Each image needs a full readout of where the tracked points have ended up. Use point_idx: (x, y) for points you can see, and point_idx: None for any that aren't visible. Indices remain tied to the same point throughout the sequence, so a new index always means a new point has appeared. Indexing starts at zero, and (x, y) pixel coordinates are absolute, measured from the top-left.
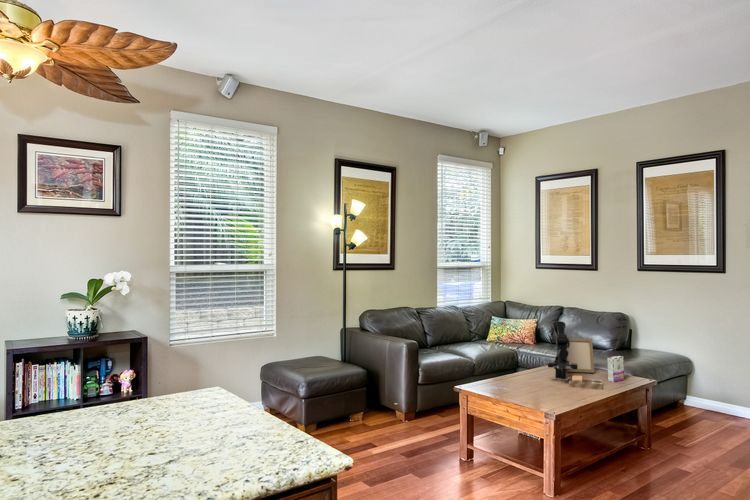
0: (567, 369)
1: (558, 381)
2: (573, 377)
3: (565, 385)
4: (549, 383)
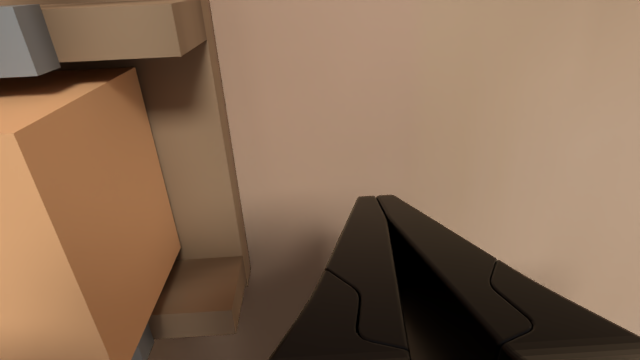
0: None
1: None
2: None
3: (299, 69)
4: (616, 109)
